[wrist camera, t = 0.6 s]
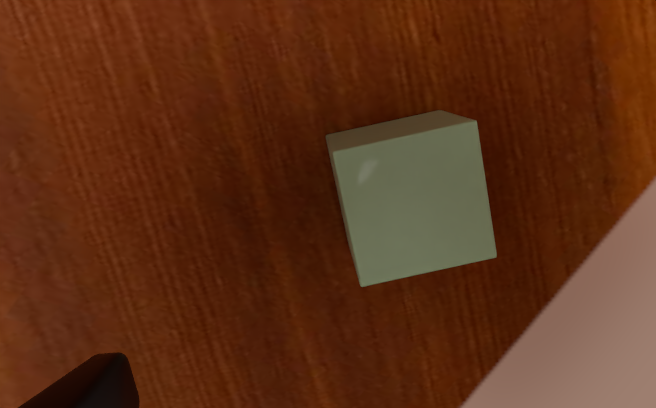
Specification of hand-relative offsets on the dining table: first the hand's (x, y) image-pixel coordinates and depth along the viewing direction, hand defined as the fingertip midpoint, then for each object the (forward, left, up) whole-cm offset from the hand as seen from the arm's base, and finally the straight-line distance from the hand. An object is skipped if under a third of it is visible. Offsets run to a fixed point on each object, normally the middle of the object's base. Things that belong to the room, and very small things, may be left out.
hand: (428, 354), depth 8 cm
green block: (0, -2, -14) cm, 14 cm away
